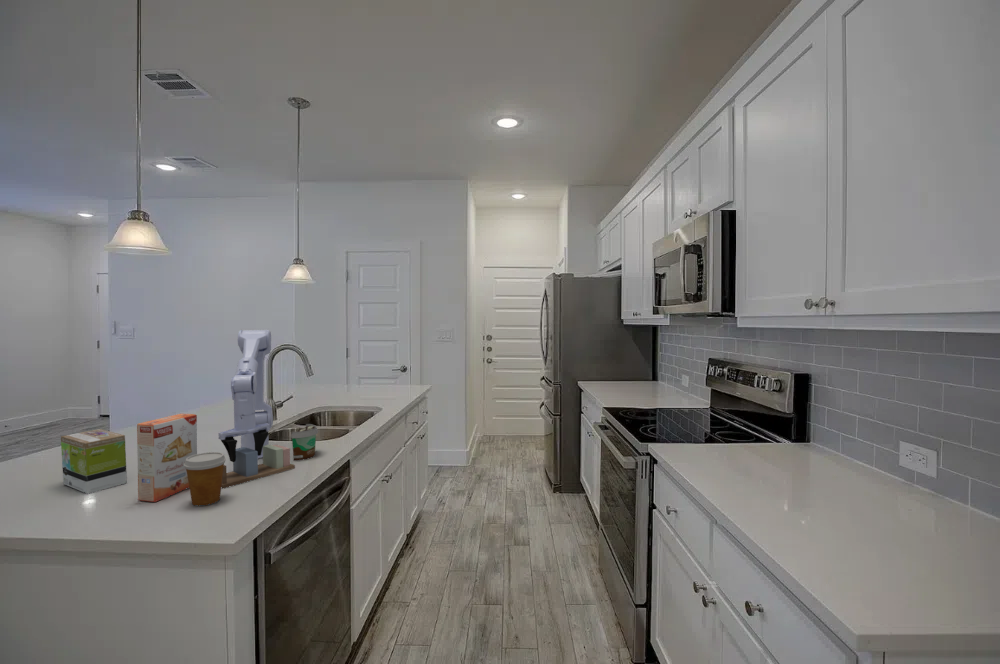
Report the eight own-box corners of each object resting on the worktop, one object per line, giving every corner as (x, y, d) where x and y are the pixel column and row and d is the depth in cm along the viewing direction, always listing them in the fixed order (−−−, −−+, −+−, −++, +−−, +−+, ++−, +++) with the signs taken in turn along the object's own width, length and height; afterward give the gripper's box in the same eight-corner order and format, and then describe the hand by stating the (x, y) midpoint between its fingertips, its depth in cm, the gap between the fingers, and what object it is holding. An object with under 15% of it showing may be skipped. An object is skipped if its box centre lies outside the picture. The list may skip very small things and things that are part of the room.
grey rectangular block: (233, 471, 148) (232, 449, 148) (244, 468, 151) (244, 446, 150) (246, 477, 143) (245, 453, 143) (258, 473, 146) (257, 451, 146)
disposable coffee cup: (235, 496, 131) (234, 453, 130) (204, 510, 121) (203, 463, 121) (207, 493, 133) (206, 450, 133) (175, 506, 124) (174, 460, 124)
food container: (309, 461, 161) (309, 432, 161) (291, 461, 161) (291, 432, 161) (324, 451, 173) (323, 423, 173) (307, 451, 173) (306, 423, 173)
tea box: (61, 485, 139) (59, 435, 138) (102, 475, 148) (101, 427, 147) (86, 495, 132) (84, 441, 131) (128, 483, 141) (126, 433, 140)
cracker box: (156, 503, 126) (153, 424, 125) (137, 501, 127) (134, 423, 127) (199, 484, 140) (197, 413, 139) (182, 483, 141) (180, 412, 140)
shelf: (206, 481, 142) (206, 461, 142) (277, 462, 160) (277, 444, 160) (223, 488, 137) (222, 467, 136) (294, 468, 154) (294, 449, 154)
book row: (263, 464, 155) (262, 446, 155) (276, 460, 159) (276, 442, 159) (276, 469, 151) (276, 450, 150) (290, 465, 154) (289, 446, 154)
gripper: (226, 420, 138) (227, 466, 138) (274, 411, 150) (275, 454, 150) (214, 416, 142) (215, 462, 142) (262, 408, 154) (263, 450, 154)
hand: (245, 457), depth 147 cm, fingers open, 7 cm apart
